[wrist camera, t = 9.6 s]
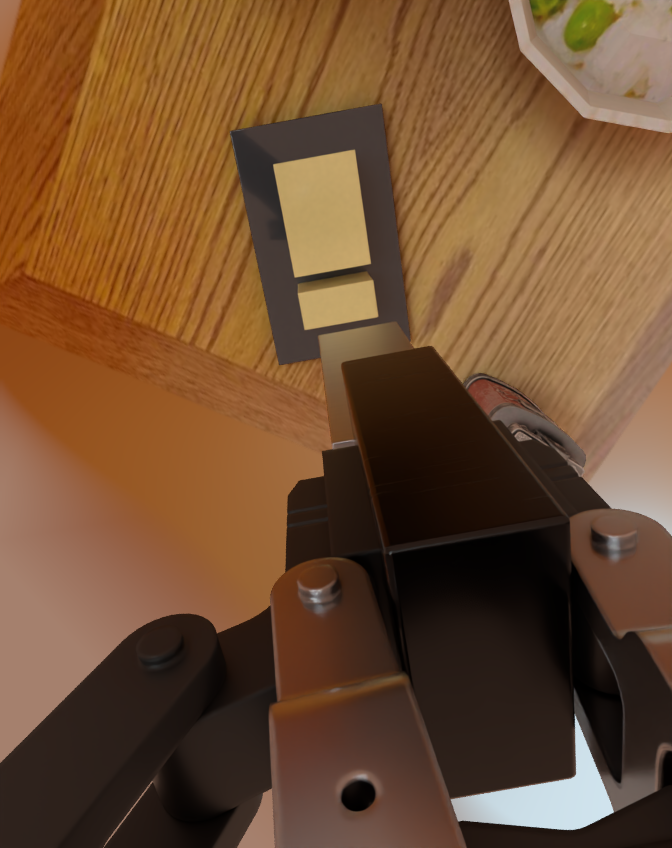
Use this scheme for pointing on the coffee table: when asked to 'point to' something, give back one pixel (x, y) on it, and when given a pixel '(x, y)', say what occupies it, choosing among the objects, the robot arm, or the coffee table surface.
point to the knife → (461, 562)
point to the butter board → (273, 228)
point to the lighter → (523, 417)
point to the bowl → (603, 56)
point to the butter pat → (337, 300)
